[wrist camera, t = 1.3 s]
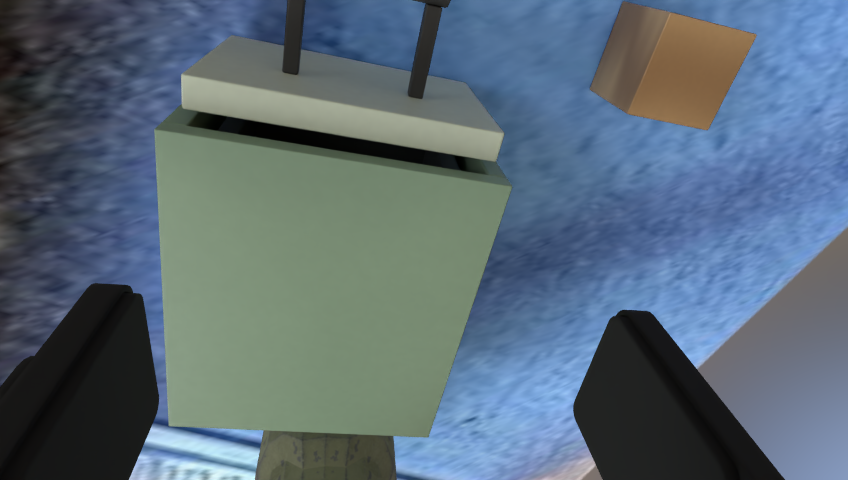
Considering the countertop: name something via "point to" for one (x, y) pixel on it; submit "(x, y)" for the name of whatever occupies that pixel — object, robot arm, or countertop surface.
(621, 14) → the block
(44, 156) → the countertop surface
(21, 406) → the robot arm
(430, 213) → the sage drawer box
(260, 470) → the thermos
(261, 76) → the pull-out drawer
